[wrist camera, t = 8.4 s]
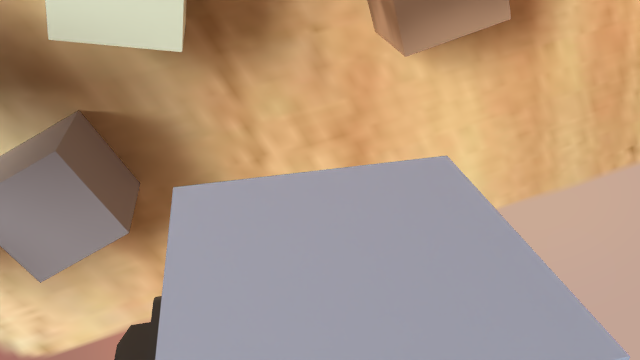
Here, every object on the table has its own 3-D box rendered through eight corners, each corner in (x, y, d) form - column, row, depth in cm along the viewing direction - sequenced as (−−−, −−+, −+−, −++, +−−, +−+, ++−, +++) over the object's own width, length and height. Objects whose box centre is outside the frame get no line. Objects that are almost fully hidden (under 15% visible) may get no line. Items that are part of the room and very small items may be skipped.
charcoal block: (-3, 157, 33) (-42, 207, 28) (79, 109, 33) (55, 150, 27) (64, 226, 36) (40, 282, 31) (140, 183, 36) (129, 232, 30)
